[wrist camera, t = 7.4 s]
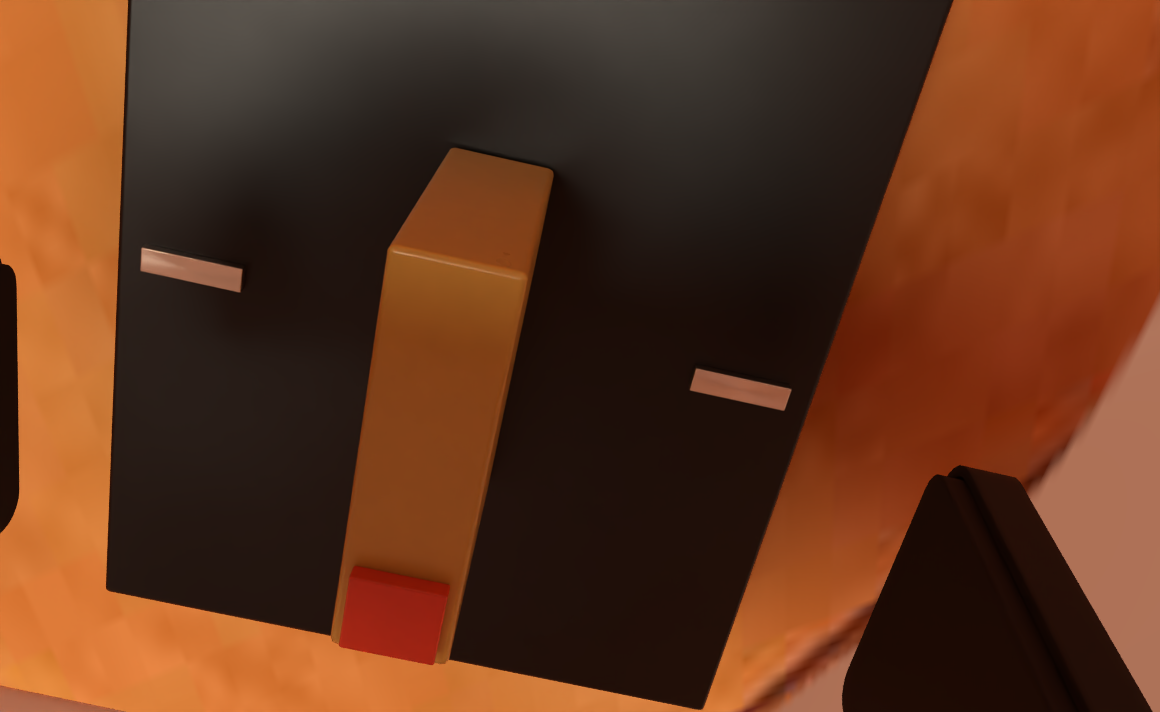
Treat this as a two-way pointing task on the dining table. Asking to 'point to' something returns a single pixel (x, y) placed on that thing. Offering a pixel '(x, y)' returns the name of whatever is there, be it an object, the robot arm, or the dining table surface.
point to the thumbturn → (437, 403)
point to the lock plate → (554, 307)
